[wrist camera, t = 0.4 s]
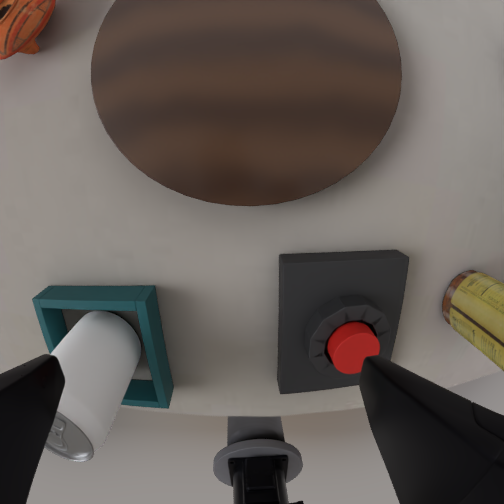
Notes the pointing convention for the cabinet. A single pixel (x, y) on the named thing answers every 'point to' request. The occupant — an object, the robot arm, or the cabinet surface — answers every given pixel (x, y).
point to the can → (92, 383)
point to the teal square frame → (114, 300)
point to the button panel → (334, 311)
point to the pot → (22, 25)
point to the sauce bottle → (477, 312)
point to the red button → (352, 346)
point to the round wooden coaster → (246, 93)
